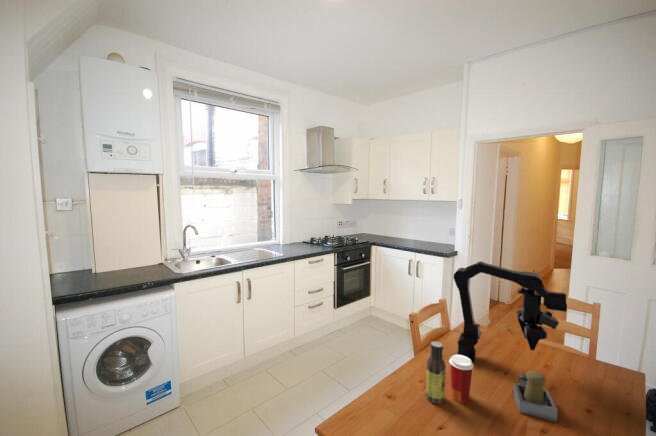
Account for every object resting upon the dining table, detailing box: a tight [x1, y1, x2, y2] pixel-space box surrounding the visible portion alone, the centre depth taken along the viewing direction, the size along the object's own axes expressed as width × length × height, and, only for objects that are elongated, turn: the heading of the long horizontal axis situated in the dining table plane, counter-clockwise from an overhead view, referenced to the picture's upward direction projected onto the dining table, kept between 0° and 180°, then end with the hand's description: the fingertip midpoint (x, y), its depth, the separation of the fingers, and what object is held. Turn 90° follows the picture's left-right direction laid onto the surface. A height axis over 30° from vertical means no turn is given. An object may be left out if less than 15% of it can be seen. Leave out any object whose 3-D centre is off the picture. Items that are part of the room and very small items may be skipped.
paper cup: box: [448, 354, 475, 404], centre depth 101 cm, size 8×8×14 cm
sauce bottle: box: [425, 341, 447, 404], centre depth 100 cm, size 6×6×20 cm
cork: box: [523, 370, 546, 405], centre depth 97 cm, size 6×6×11 cm
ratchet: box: [512, 373, 559, 423], centre depth 101 cm, size 10×19×5 cm, turn 157°
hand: (529, 344), depth 113 cm, fingers open, 9 cm apart
